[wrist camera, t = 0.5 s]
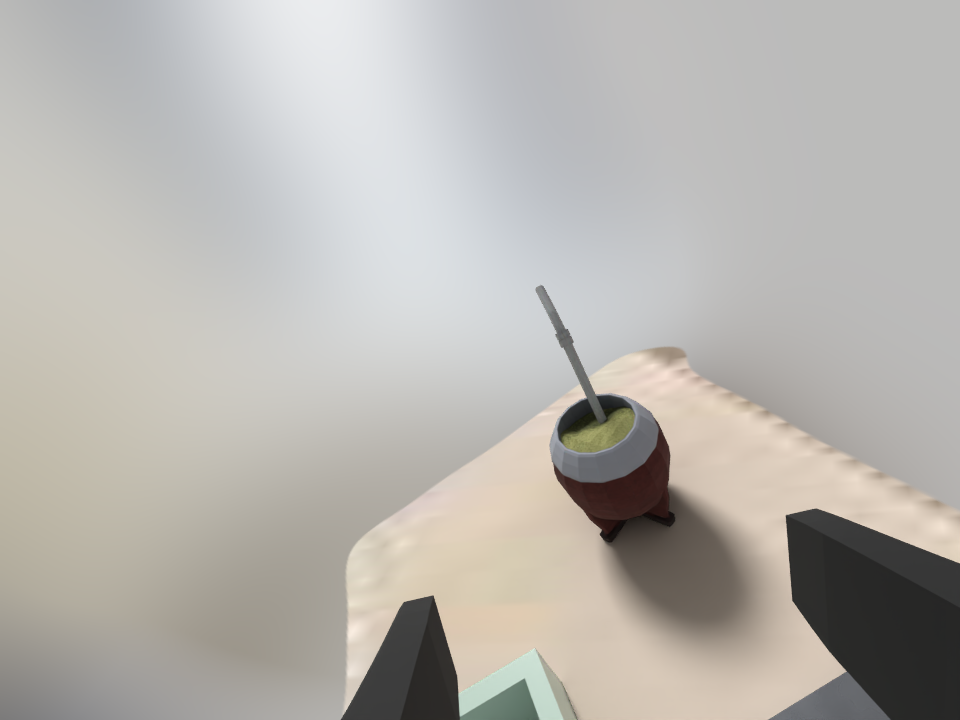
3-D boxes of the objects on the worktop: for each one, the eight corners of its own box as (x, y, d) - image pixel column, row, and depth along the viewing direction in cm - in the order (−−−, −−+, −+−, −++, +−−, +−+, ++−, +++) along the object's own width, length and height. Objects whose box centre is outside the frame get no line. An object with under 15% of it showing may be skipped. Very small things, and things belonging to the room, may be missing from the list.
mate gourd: (651, 571, 29) (568, 385, 22) (551, 519, 35) (459, 359, 28) (708, 478, 32) (652, 288, 25) (608, 445, 38) (538, 284, 31)
